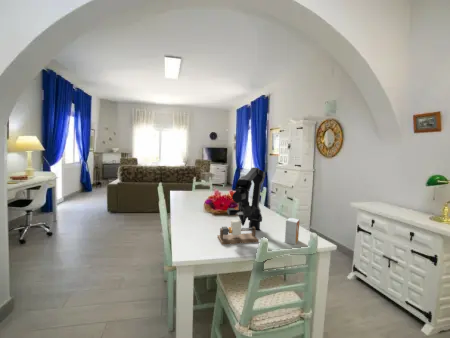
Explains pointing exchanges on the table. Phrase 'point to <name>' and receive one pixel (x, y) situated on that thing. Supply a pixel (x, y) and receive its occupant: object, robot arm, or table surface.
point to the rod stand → (237, 236)
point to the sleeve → (236, 227)
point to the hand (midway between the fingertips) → (242, 225)
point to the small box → (292, 231)
